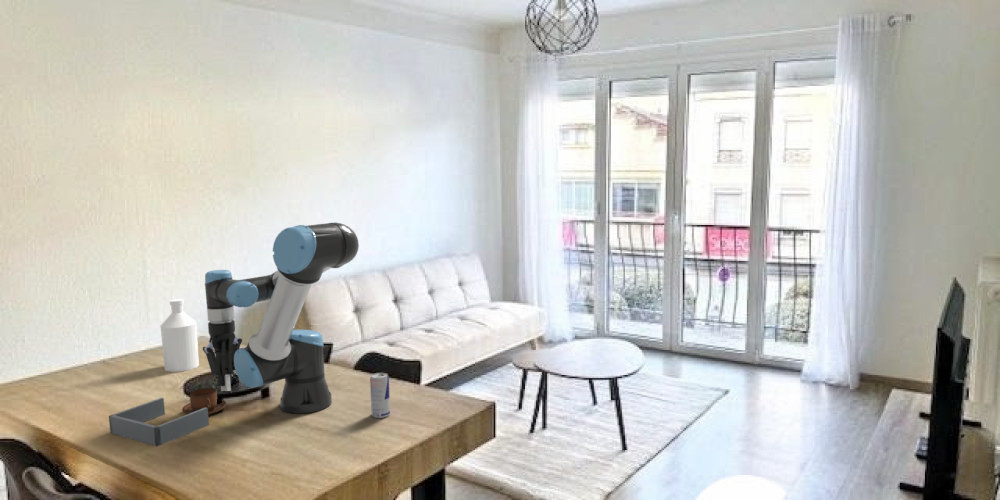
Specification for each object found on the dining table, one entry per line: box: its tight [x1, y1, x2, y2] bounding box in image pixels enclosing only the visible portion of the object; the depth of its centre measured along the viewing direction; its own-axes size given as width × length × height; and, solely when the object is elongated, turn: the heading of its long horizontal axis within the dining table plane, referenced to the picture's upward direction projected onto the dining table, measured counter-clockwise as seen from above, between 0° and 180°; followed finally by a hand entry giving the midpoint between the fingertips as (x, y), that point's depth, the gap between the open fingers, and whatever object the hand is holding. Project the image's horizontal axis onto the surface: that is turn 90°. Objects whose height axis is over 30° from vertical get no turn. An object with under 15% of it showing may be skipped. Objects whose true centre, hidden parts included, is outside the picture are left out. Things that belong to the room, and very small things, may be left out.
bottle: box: [160, 298, 200, 373], centre depth 243 cm, size 12×12×25 cm
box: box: [108, 397, 210, 447], centre depth 187 cm, size 20×16×5 cm
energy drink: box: [369, 372, 391, 419], centre depth 194 cm, size 5×5×12 cm
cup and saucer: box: [181, 387, 227, 416], centre depth 200 cm, size 12×12×6 cm
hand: (226, 394), depth 207 cm, fingers closed
